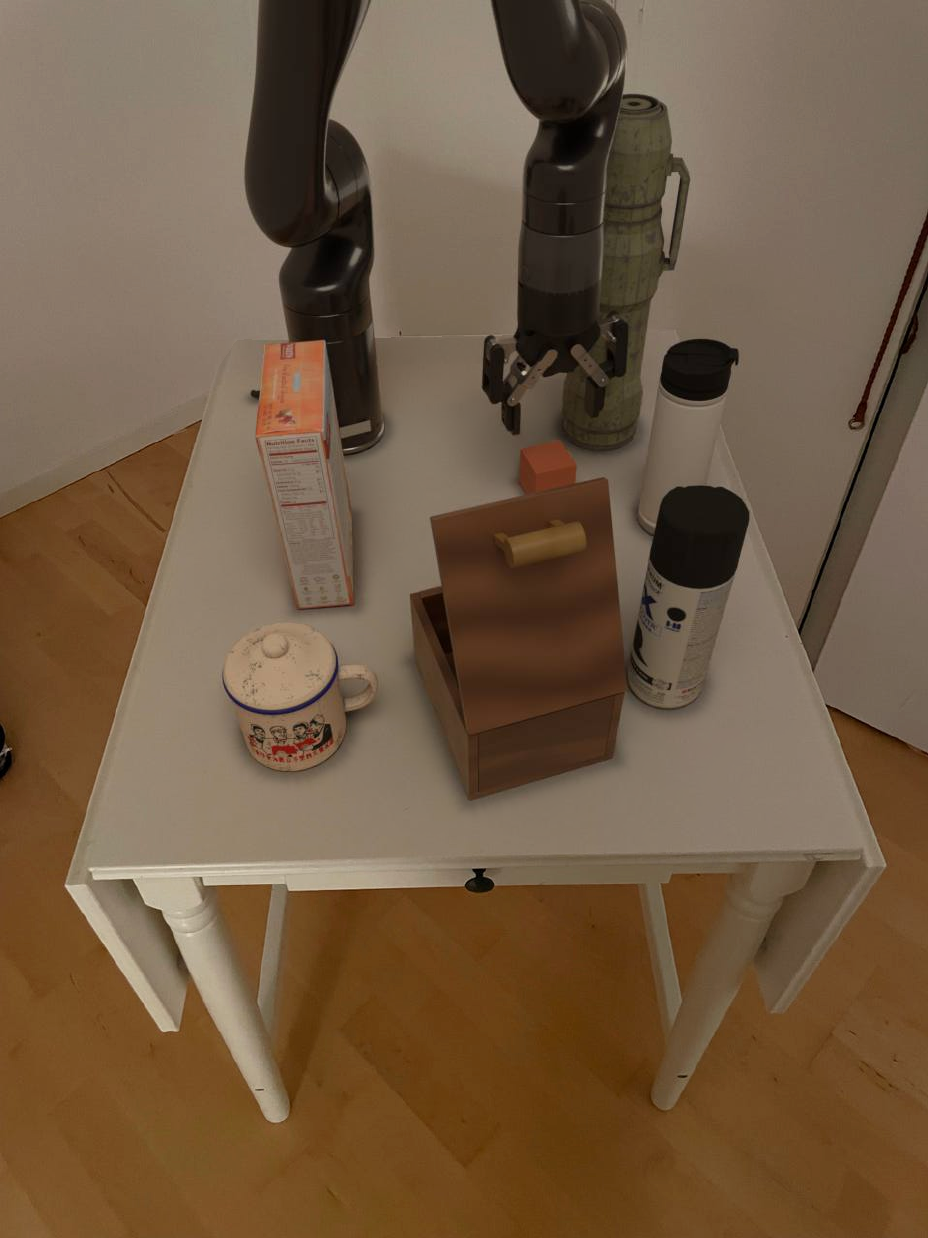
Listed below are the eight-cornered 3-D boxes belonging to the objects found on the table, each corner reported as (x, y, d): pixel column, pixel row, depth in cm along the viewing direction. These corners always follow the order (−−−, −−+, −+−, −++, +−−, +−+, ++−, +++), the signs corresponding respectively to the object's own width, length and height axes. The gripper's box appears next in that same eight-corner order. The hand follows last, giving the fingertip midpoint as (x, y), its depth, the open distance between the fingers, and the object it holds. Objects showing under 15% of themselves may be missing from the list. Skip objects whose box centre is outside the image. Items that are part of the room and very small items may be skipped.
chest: (415, 661, 84) (409, 593, 77) (543, 627, 86) (548, 559, 80) (469, 801, 73) (467, 737, 67) (612, 758, 76) (624, 692, 70)
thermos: (547, 405, 111) (566, 85, 85) (646, 407, 110) (695, 85, 84) (547, 449, 105) (567, 119, 79) (651, 452, 104) (705, 120, 78)
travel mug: (699, 544, 94) (740, 372, 79) (634, 536, 95) (662, 365, 80) (701, 505, 98) (740, 335, 83) (639, 497, 99) (666, 328, 84)
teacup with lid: (242, 783, 75) (211, 695, 66) (243, 696, 81) (215, 605, 73) (388, 763, 76) (376, 674, 68) (378, 679, 82) (366, 587, 74)
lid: (429, 516, 61) (450, 536, 56) (603, 476, 63) (638, 492, 58) (466, 730, 67) (488, 765, 62) (623, 686, 70) (655, 717, 65)
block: (534, 507, 98) (536, 473, 95) (519, 482, 101) (520, 448, 98) (573, 498, 99) (577, 464, 95) (557, 473, 102) (560, 439, 98)
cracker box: (297, 517, 97) (261, 340, 82) (353, 513, 98) (329, 336, 82) (292, 612, 88) (251, 432, 73) (355, 608, 88) (327, 427, 73)
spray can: (623, 652, 84) (652, 479, 69) (697, 653, 84) (743, 480, 69) (629, 710, 79) (663, 539, 65) (708, 711, 79) (759, 539, 64)
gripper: (615, 238, 85) (601, 389, 97) (470, 264, 82) (474, 416, 94) (651, 273, 80) (632, 428, 92) (499, 302, 78) (498, 458, 89)
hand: (552, 422), depth 93 cm, fingers open, 8 cm apart
